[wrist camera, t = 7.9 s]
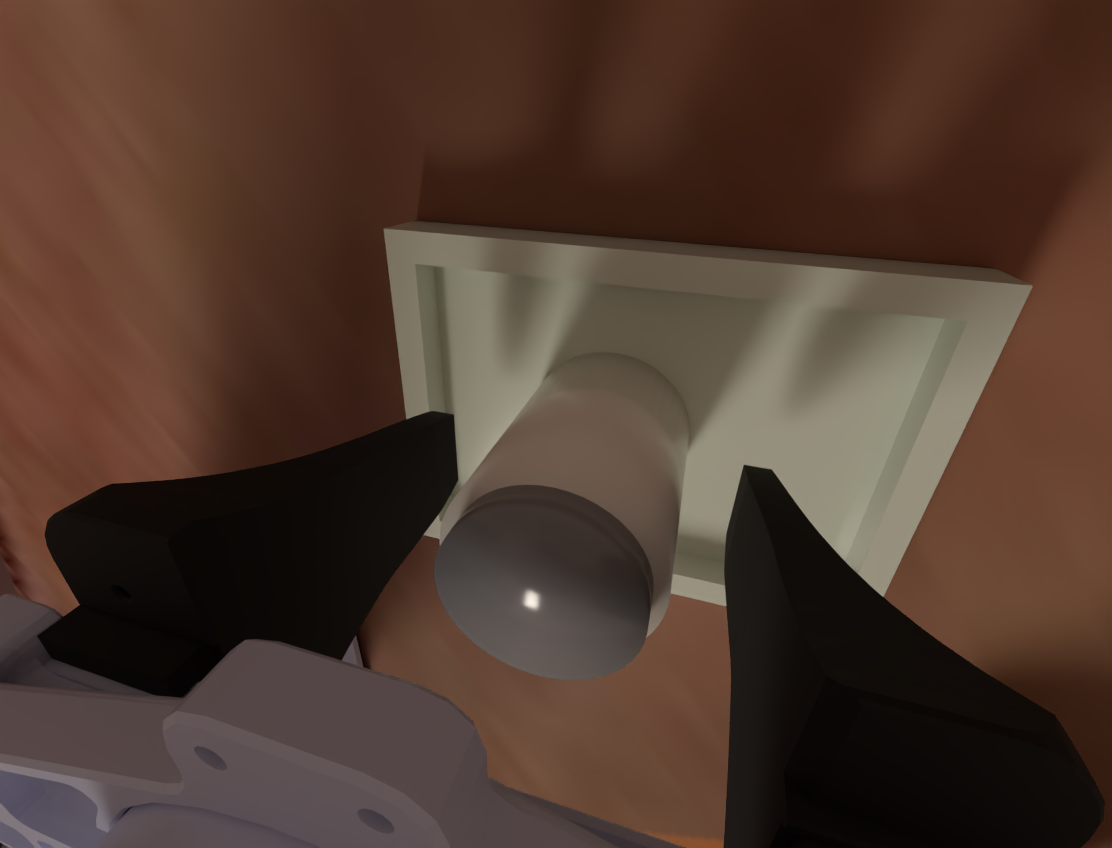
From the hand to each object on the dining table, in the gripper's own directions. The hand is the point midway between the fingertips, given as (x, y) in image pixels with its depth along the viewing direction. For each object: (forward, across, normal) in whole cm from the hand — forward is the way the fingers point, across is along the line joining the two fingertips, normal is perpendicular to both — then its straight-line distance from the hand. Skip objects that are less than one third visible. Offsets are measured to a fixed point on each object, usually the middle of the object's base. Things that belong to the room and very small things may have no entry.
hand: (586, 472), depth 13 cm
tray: (+3, -1, 0) cm, 3 cm away
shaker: (+3, 0, 0) cm, 3 cm away
